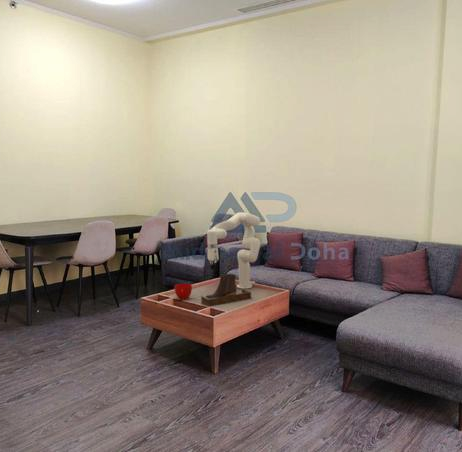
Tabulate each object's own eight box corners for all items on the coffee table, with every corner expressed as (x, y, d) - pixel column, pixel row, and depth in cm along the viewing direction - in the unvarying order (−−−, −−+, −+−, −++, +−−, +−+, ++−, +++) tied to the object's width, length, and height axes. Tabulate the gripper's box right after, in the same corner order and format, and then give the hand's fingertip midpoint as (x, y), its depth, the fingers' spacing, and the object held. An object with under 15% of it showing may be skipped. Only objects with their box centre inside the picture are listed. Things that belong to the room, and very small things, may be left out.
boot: (203, 300, 340) (203, 274, 337) (235, 298, 345) (235, 272, 343) (205, 303, 331) (204, 276, 329) (237, 301, 337) (237, 274, 335)
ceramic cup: (173, 302, 335) (173, 289, 334) (175, 296, 351) (175, 283, 350) (191, 302, 336) (191, 288, 335) (192, 295, 352) (192, 283, 351)
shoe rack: (243, 295, 353) (243, 289, 353) (251, 298, 344) (251, 292, 344) (201, 302, 333) (201, 296, 333) (208, 306, 324) (208, 299, 324)
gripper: (221, 246, 344) (221, 270, 346) (212, 244, 356) (212, 267, 358) (212, 247, 339) (213, 271, 341) (203, 245, 352) (204, 268, 354)
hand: (212, 269), depth 350 cm, fingers closed
